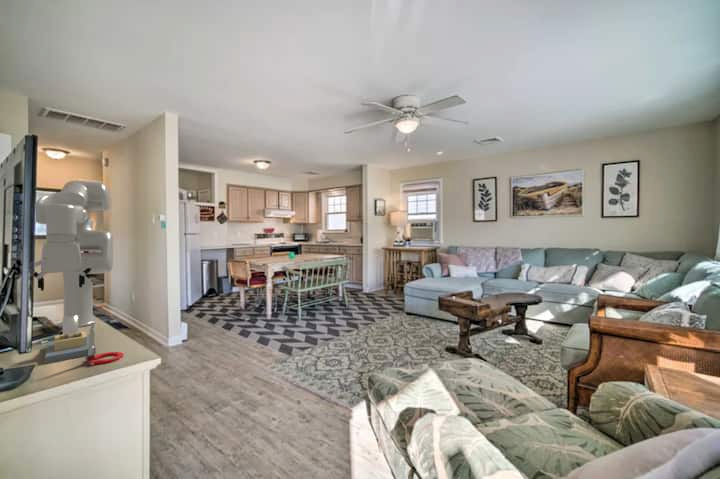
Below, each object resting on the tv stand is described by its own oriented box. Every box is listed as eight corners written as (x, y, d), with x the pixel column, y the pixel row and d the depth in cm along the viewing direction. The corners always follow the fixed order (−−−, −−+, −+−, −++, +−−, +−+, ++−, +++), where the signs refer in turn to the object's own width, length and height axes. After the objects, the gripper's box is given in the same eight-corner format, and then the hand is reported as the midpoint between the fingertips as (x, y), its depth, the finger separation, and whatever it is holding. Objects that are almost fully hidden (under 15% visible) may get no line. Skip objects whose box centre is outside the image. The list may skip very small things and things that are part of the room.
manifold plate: (47, 347, 110) (47, 333, 110) (91, 339, 118) (91, 326, 118) (45, 363, 97) (45, 347, 97) (95, 353, 105) (95, 339, 105)
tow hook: (119, 353, 107) (84, 360, 100) (121, 316, 108) (86, 320, 100) (126, 360, 102) (89, 368, 95) (128, 321, 102) (92, 325, 95)
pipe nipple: (62, 344, 108) (62, 316, 108) (78, 341, 111) (78, 314, 110) (62, 347, 105) (62, 318, 105) (78, 344, 108) (78, 316, 107)
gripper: (93, 238, 116) (93, 284, 117) (25, 239, 104) (26, 289, 105) (95, 240, 111) (95, 287, 112) (24, 240, 99) (25, 293, 99)
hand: (62, 288), depth 108 cm, fingers open, 9 cm apart
